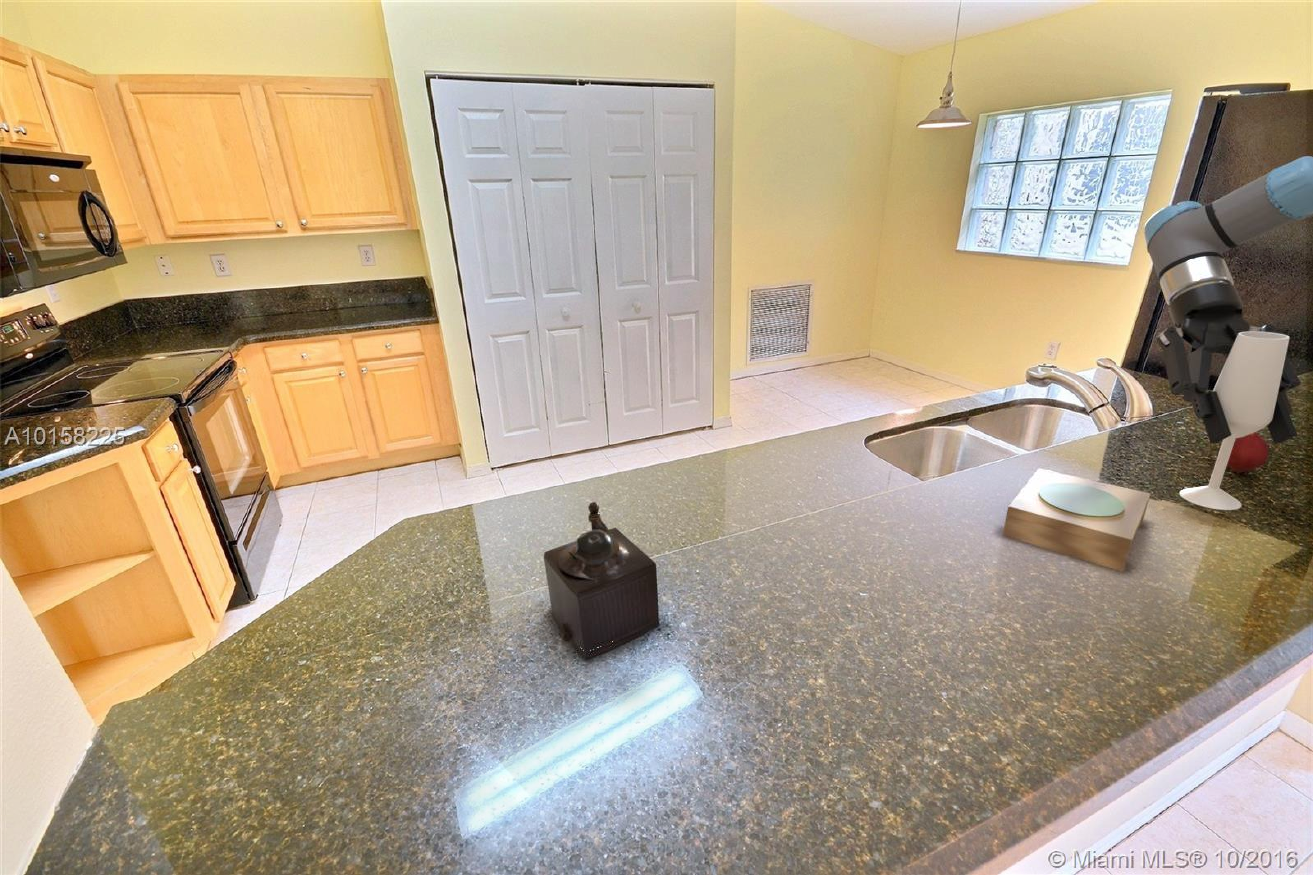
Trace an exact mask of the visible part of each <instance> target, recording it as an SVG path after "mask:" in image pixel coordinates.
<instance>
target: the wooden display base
mask: <svg viewBox="0 0 1313 875" xmlns="http://www.w3.org/2000/svg"><path fill="white" fill-rule="evenodd" d="M1151 496H1152V493H1150V492H1145V491H1142V490H1136V489H1133V488H1129V487H1128V488H1127V487H1122V486H1119V485H1116V484H1115V485H1114V484H1110V483H1105V482H1101V481H1096V480H1092V479H1088V478H1083V477H1079V476H1075V475H1072V474H1071V475H1070V474H1066V473H1061V472H1057V471H1052V470H1047V469H1043V468H1037V470H1036V471H1035V473H1034V474H1033V475H1032V476H1031V477H1030V479H1029V480H1027V483H1025V485H1024V486H1023V487H1022V489H1021V490H1020V491H1019V492H1018V494H1017V495H1016V496H1015V497H1014V498H1013V500H1012V501H1011V502H1010V503H1009V504H1008V506H1007V511H1006V516H1005V521H1004V526H1003V531H1002V536H1003V537H1007V538H1011V539H1014V540H1017V541H1020V542H1024V543H1027V544H1030V545H1034V546H1036V547H1040V548H1044V549H1047V550H1050V551H1054V552H1057V553H1060V554H1063V555H1067V556H1070V557H1072V558H1077V559H1080V560H1083V561H1086V562H1089V563H1092V564H1096V565H1099V566H1102V567H1106V568H1110V569H1113V570H1115V571H1119V572H1124V571H1125V568H1126V566H1127V561H1128V558H1129V555H1130V551H1131V548H1132V545H1133V542H1134V540H1135V537H1136V535H1137V533H1138V530H1139V527H1142V525H1143V523H1144V518H1145V515H1146V512H1147V508H1148V505H1149V502H1150V498H1151Z"/></svg>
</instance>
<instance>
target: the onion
mask: <svg viewBox="0 0 1313 875" xmlns="http://www.w3.org/2000/svg"><path fill="white" fill-rule="evenodd" d="M1269 455H1270V447H1269V444H1268V443H1267V442H1266V440H1265V439H1264V438H1263V437H1261V435H1259V434H1258V433H1257V432H1254V433H1251V434H1249V435H1246V436H1244V437H1240V438H1236V439H1235V442H1234V445H1233V448H1232V451H1231V454H1230V457H1229V460H1228V463H1227V467H1228V468H1229V469H1230V470H1231V471H1232V472H1234V473H1238V474H1241V473H1245V472H1249V471H1253V470H1255V469H1258V468H1260V467H1262V466H1263V465H1265V463H1266V462H1267V461H1268V459H1269Z"/></svg>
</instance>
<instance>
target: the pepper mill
mask: <svg viewBox="0 0 1313 875" xmlns="http://www.w3.org/2000/svg"><path fill="white" fill-rule="evenodd" d="M587 509H588V511H589V513H588V516H587V518H588V522H589V523H590V524H591V530H589V531H586V532H582V533H581V534H580V535H579V536H578V538H577V539H576V540H575V541H572V542H569V543H565V544H563V545H561V546H557V547H554V548H552V549H549V550H546V551H544V552H543V562H544V567H545V574H546V576H545V577H546V582H547V587H548V588H547V589H548V594H549V601H550V606H551V607H550V608H551V611H550V615H551V617H552V618H553V621H554V622H555V624H556V626H557V631H558V634H559V635H560V636H561V637H562V638H563V639H564V640H565V641H566V642H568V643H569V644H570V645H571V646H572V649H574V650H575V652H576V653H577V654H579V655H580V656H581V658H583V659H584V660H586V661H588V660H591V659H594V658H596V657H599V656H601V655H604V654H607V653H609V652H612V651H614V650H615V649H617V648H620V647H622V646H624V645H626V644H628V643H631V642H633V641H634V640H637V639H638V638H641V637H642V636H644V635H646V634H648V633H649V632H651V631H652V630H654V629H656V628H657V627H659V626H660V621H659V616H660V615H659V614H660V613H659V589H658V588H659V587H658V573H657V563H656V562H655V561H654V560H653V559H652V558H651V557H650V556H648V555H647V553H645V552H644V551H642V550H641V549H640V547H638V546H637V545H636V544H635V543H634V542H633V541H631V540H630V539H629V538H628V537H627V536H626V535H625V534H623V532H621V531H620V530H619V529H618V528H617V527H612V528H610V529H609V527H607V524H605V523H604V522H603V519H602V517H601V512H600V511H599V510H600V505H599V503H598V502H596V501H592V502H589V505H588V506H587ZM612 641H613V642H612ZM600 646H601V647H600ZM580 647H581V648H582V649H581V648H580ZM597 647H599V648H597ZM593 649H594V650H593ZM583 650H584V651H583ZM590 650H591V651H590Z"/></svg>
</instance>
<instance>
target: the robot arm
mask: <svg viewBox="0 0 1313 875" xmlns="http://www.w3.org/2000/svg"><path fill="white" fill-rule="evenodd" d="M1310 217H1313V156H1311V155H1310V156H1309V155H1306V156H1305V155H1304V156H1302V157H1298V158H1297V159H1295V160H1293V161H1290V162H1289V163H1287V164H1283V165H1281V166H1277V167H1276V168H1274V169H1272V170H1271V171H1269V172H1268V173H1266V174H1264V175H1262V176H1260V177H1258V178H1257V179H1254V180H1253V181H1251V182H1248V183H1246V184H1245V185H1243V186H1241V187H1239V188H1237V189H1235V190H1234V191H1231V192H1230V193H1228V194H1226V195H1224V196H1222V197H1221V198H1219V199H1216V200H1214V201H1212V202H1209V203H1208V204H1205V205H1203V204H1201V203H1200V202H1197V201H1195V200H1186V201H1179V202H1178V203H1177V204H1175V205H1167V206H1165V207H1163V208H1161V209H1159V210H1158V211H1157V212H1155V213H1154V214H1152V215H1151V217H1150V218H1148V220H1147V221H1146V222H1145V225H1144V227H1143V234H1144V240H1145V243H1146V250H1147V251H1146V252H1147V253H1148V254H1149V256H1150V259H1151V262H1152V265H1153V267H1154V270H1155V273H1156V275H1157V279H1158V282H1159V285H1160V287H1161V292H1162V293H1163V297H1164V301H1165V302H1166V304H1167V305H1168V308H1167V309H1168V313H1169V315H1170V318H1171V321H1172V323H1173V326H1174V327H1172V326H1168V327H1167V328H1165V330H1163V331H1162V332H1161V333H1160V334H1158V335H1157V336H1156V337H1155V340H1156V342H1157V344H1158V345H1159V347H1160V348H1161V350H1162V355H1163V359H1164V365H1165V369H1166V374H1167V380H1168V386H1169V391H1170V394H1172V395H1173V396H1179V395H1181V396H1182V400H1183V401H1184V402H1187V403H1191V405H1192V409H1193V411H1194V414H1195V416H1196V418H1197V419H1202V422H1203V424H1204V428H1205V431H1206V434H1207V437H1208V441H1209V443H1210V444H1218V443H1219V442H1222V441H1223V439H1225V438H1227V437H1229V436H1231V435H1232V434H1231V432H1230V429H1229V426H1228V423H1227V420H1226V417H1225V415H1224V412H1223V409H1222V406H1221V403H1220V401H1219V398H1218V395H1217V392H1216V391H1213V390H1212V391H1211V390H1210V391H1208V390H1209V387H1210V375H1211V369H1212V358H1213V354H1220V355H1221V354H1222V355H1223V356H1224V357H1225V358H1226V359H1227V358H1228V356H1229V353H1230V351H1231V349H1232V347H1233V344H1234V342H1235V340H1236V338H1237V335H1238V333H1240V332H1270V333H1277V330H1276V327H1275V325H1273V324H1270V323H1267V324H1265V325H1263V326H1262V327H1260V326H1253V325H1251V324H1250V323H1249V322H1248V321H1247V320H1246V319H1245V318H1244V317H1243V310H1244V309H1243V308H1244V305H1243V302H1242V299H1241V297H1240V293H1239V292H1238V289H1237V288H1236V286H1235V282H1234V279H1233V277H1232V274H1231V272H1230V270H1229V266H1228V265H1227V262H1226V260H1225V257H1224V255H1223V253H1225V252H1227V251H1229V250H1230V251H1231V250H1232V249H1234V248H1237V247H1239V246H1240V245H1243V244H1246V243H1247V242H1249V241H1252V240H1255V239H1257V238H1259V237H1261V236H1263V235H1266V234H1268V233H1270V232H1273V231H1275V230H1278V229H1279V228H1280V229H1281V228H1282V227H1285V226H1287V225H1290V224H1293V223H1296V222H1299V221H1302V220H1304V219H1308V218H1310ZM1184 342H1185V343H1186V344H1187V345H1189V351H1188V358H1187V353H1186V348H1185V343H1184ZM1188 359H1189V362H1188ZM1301 384H1302V382H1301V380H1300V378H1299V376H1298V375H1297V372H1296V371H1295V369H1294V367H1293V365H1292V364H1291V362H1290V361H1289V359H1288V357H1287V356H1286V357H1285V362H1284V366H1283V371H1282V376H1281V381H1280V385H1279V390H1278V395H1277V400H1276V404H1275V409H1274V414H1273V419H1272V421H1271V422H1270V423H1269V424H1268V425H1267V426H1266V427H1267V429H1268V432H1269V435H1270V437H1271V440H1272V442H1273V444H1281V443H1283V442H1285V441H1288V440H1290V439H1291V438H1295V437H1296V436H1298V432H1297V430H1296V427H1295V425H1294V423H1293V420H1292V417H1291V415H1293V411H1294V410H1293V407H1292V405H1291V403H1290V400H1289V398H1288V395H1287V393H1288V392H1290V391H1292V390H1294V389H1295V388H1298V387H1299V386H1300V385H1301ZM1207 391H1208V392H1207Z"/></svg>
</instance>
